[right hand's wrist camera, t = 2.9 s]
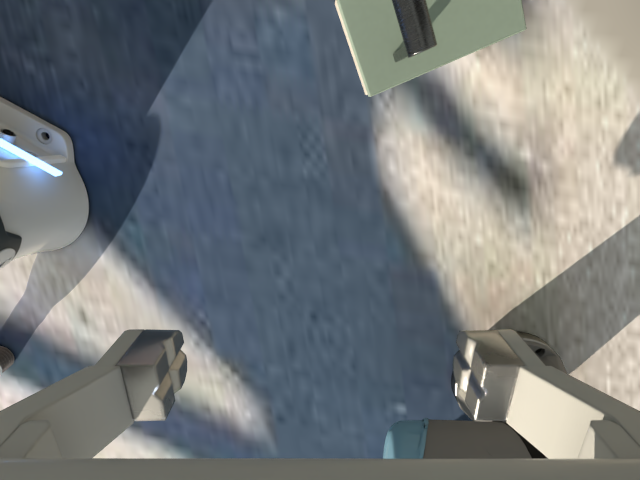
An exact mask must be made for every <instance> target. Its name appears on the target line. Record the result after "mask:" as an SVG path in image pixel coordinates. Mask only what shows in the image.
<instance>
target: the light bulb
mask: <svg viewBox="0 0 640 480" xmlns="http://www.w3.org/2000/svg"><path fill="white" fill-rule="evenodd" d="M13 363H14V355H13V354H12V352H11V351H10V350H8V349H7V348H5V347H2V346H0V377H1V375H2V373H3V372H4V371H5V370H6V369H8V368H9V367H10V366H11V365H12V364H13Z"/></svg>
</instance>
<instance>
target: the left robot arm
mask: <svg viewBox="0 0 640 480" xmlns="http://www.w3.org/2000/svg"><path fill="white" fill-rule="evenodd" d="M517 334H518V335H519V336H520V337H521V338H522V339H523V340H524V342H525V343H526V344H527V345H528V346H529V347H530V349H531V350H532V351H533V352H534V353H535V354H536V355H537V357H538V358H539V359H540V360H541V361H542V362H543V363H544V365H545V366H552V367H554V368H556V369H558V370H560V371H562V372H564V373H566V374H567V372H566V370H565V368H564V365H563V363H562V360H561V359H560V357H559V356H558V354H557V353H556V352H555V351H554V350H553V349H552V348H551V347H550V346H549V345H548V344H547V343H546V342H545V341H543V340H542V339H540V338H538V337H536V336H534V335H531V334H527V333H522V332H517ZM451 385H452V390H453V393H454V396H455V398H456V400H457V402H458V404H459V406H460V407H461V409H462V410H463V411H464V412H465V413H466V414H467V415H468V416H469V417H470V418H471V419H472V420H473V421H455V420H429V419H428V418H424V419H423V420H411V421H399V422H396V423H394V424H393V425H392V426H391V428H390V429H389V431H388V433H387V437H386V440H385V446H384V454H383V459H548V458H547V457H546V456H545V455H544V454H543V453H541V452H540V451H539V450H538V449H537V448H536V447H534V446H533V445H532V444H531V443H530V442H528V441H527V440H526V439H525V438H524V437H523V436H521V435H520V434H519V433H518V432H517V431H516V430H514V429H513V428H512V427H511V426H510V425H509V424H507V423H506V422H507V421H485V420H474V418H473V416H472V414H471V412H470V410H469V408H468V406H467V404H466V402H465V397H466V393H464V392H463V391H462V390H460V389H459V388H458V386H457V383H456V381H455V378H454V373H452V379H451Z"/></svg>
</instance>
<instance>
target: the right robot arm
mask: <svg viewBox="0 0 640 480" xmlns="http://www.w3.org/2000/svg"><path fill="white" fill-rule="evenodd" d="M46 133H48V134H49V139H48V138H47V137H46ZM88 214H89V201H88V195H87V191H86V188H85V185H84V183H83V180H82V178H81V176H80V174H79V172H78V170H77V168H76V165H75V162H74V150H73V144H72V140H71V138H70V136H69V135H68V134H67V133H66V132H65V131H63V130H61V129H59V128H58V127H56V126H54V125H52V124H50V123H48V122H46V121H45V120H43V119H41V118H39V117H37V116H35V115H33V114H32V113H30V112H28V111H26V110H24V109H22V108H20V107H19V106H17V105H15V104H13V103H11V102H9V101H7V100H5V99H4V98H2V97H0V269H2V268H3V267H4V266H6V265H7V264H8V263H9V262H11V261H13V260H16V259H19V258H22V257H25V256H29V255H32V254H36V253H40V252H47V251H54V250H58V249H61V248H63V247H66V246H68V245H69V244H71V243H72V242H74V241H75V240H76V239H77V238H78V237H79V236H80V234H81V233H82V231H83V230H84V228H85V225H86V223H87V219H88ZM183 343H184V340H183V335H182V333H181V332H180V331H179V330H127V331H124V332H123V334H122V335H121V336H120V337H119V338H118V339H117V340H116V342H115V343H114V344H113V345H112V346H111V347H110V349H109V350H108V351H107V352H106V353H105V354H104V355H103V357H102V358H101V359H100V360H99V361H98V362H97V363H96V365H95V366H88V367H86V368H84V369H82V370H80V371H78V372H76V373H74V374H72V375H70V376H68V377H66V378H64V379H62V380H60V381H58V382H56V383H54V384H52V385H51V386H49V387H47V388H45V389H43V390H41V391H39V392H37V393H35V394H33V395H31V396H29V397H27V398H25V399H23V400H21V401H19V402H17V403H15V404H13V405H11V406H9V407H7V408H5V409H4V410H2V411H0V480H640V411H638V410H636V409H634V408H632V407H630V406H628V405H626V404H625V403H623V402H621V401H619V400H617V399H615V398H613V397H611V396H609V395H607V394H605V393H603V392H601V391H599V390H597V389H595V388H593V387H591V386H589V385H587V384H585V383H584V382H582V381H580V380H578V379H576V378H574V377H572V376H570V375H568V374H566V373H564V372H562V371H560V370H558V369H556V368H554V367H552V366H545V365H544V363H543V362H542V361H541V360H540V359H539V358H538V357H537V355H536V354H535V353H534V352H533V351H532V350H531V349H530V347H529V346H528V345H527V344H526V343H525V342H524V340H523V339H522V338H521V337H520V336H519V335H518V334H517V332H516V331H514V330H512V329H505V330H477V331H459V333H458V335H457V340H456V343H457V345H458V347H459V349H460V350H459V351H458V352H457V353H456V354H455V355H454V359H453V373H454V378H455V381H456V383H457V386H458V388H459V389H460V390H462V391H463V392H464V393H466V397H465V402H466V404H467V406H468V408H469V410H470V412H471V414H472V416H473V418H474V420H485V421H507V422H506V423H507V424H509V425H510V426H511V427H512V428H513V429H514V430H516V431H517V432H518V433H519V434H520V435H521V436H523V437H524V438H525V439H526V440H527V441H528V442H530V443H531V444H532V445H533V446H534V447H536V448H537V449H538V450H539V451H540V452H541V453H543V454H544V455H545V456H546V457H547V458H548V459H280V458H262V459H100V458H93V457H94V456H95V455H96V454H98V453H99V452H100V451H101V450H102V449H103V448H105V447H106V446H107V445H108V444H109V443H110V442H112V441H113V440H114V439H115V438H116V437H118V436H119V435H120V434H121V433H122V432H123V431H125V430H126V429H127V428H128V427H129V426H130V425H132V424H133V423H134V422H133V421H154V420H166V418H167V416H168V414H169V412H170V410H171V408H172V406H173V404H174V402H175V397H174V393H176V392H177V391H178V390H180V389H181V388H182V386H183V383H184V381H185V377H186V373H187V358H186V355H185V354H184V353H183V352H182V351H181V350H180V349H181V347H182V345H183Z"/></svg>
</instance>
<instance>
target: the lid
mask: <svg viewBox="0 0 640 480" xmlns="http://www.w3.org/2000/svg"><path fill="white" fill-rule="evenodd" d="M336 1H337V4H338V7H339V10H340V13H341V16H342V19H343V22H344V25H345V28H346V31H347V34H348V37H349V40H350V42H351V45H352V48H353V51H354V54H355V57H356V60H357V63H358V66H359V69H360V72H361V75H362V78H363V81H364V84H365V87H366V90H367V93H368V96H369V97H371V96H374V95H376V94H378V93H381V92H383V91H385V90H387V89H390V88H392V87H394V86H397V85H399V84H401V83H404V82H406V81H408V80H411V79H413V78H415V77H418V76H420V75H422V74H424V73H427V72H429V71H431V70H434V69H436V68H438V67H441V66H443V65H445V64H448V63H450V62H452V61H455V60H457V59H459V58H461V57H464V56H466V55H468V54H471V53H473V52H475V51H478V50H480V49H482V48H485V47H487V46H489V45H492V44H494V43H496V42H498V41H501V40H503V39H505V38H508V37H510V36H512V35H515V34H517V33H519V32H522V31H524V30H526V24H525V18H524V13H523V7H522V1H521V0H336Z"/></svg>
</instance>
